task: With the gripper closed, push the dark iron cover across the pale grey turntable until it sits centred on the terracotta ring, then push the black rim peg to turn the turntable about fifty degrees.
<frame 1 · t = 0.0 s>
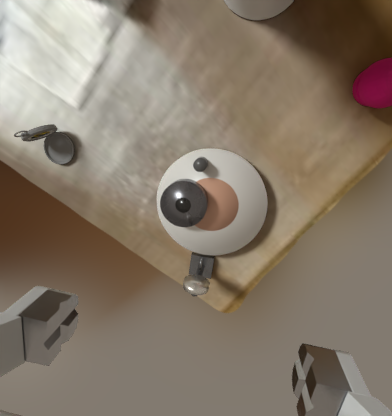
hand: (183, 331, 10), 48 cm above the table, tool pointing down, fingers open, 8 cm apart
pepper mill: (371, 87, 48), on the table
turntable: (210, 205, 56), point 3 cm above the table, hinge at 0.0°, touching cover
dial gauge stand: (201, 264, 63), on the table
cover: (185, 200, 56), point 3 cm above the table, touching turntable
pocket watch: (59, 142, 60), on the table
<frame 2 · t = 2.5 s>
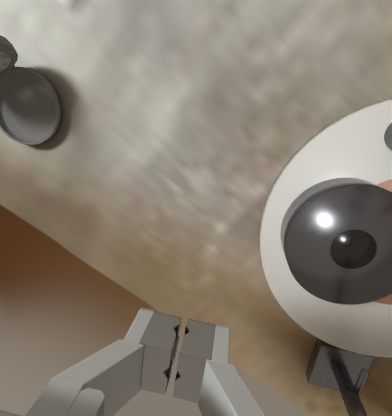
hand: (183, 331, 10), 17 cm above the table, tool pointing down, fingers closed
dial gauge stand: (336, 360, 29), on the table
cover: (338, 233, 22), point 3 cm above the table, touching turntable
pocket watch: (27, 94, 26), on the table
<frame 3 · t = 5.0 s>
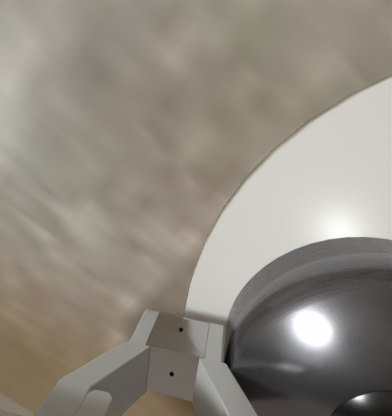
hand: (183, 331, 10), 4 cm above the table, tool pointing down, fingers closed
cover: (345, 348, 10), point 3 cm above the table, touching gripper, turntable
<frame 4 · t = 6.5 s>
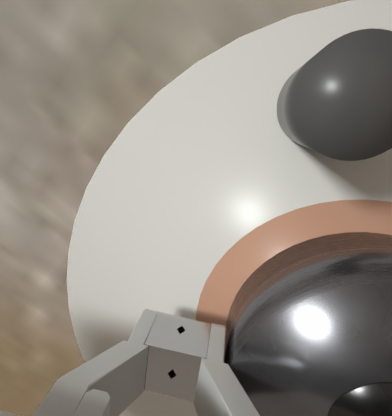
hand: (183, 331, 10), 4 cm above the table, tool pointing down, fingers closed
turntable: (340, 340, 11), point 3 cm above the table, hinge at -0.1°, touching cover
cover: (345, 342, 11), point 3 cm above the table, touching gripper, turntable
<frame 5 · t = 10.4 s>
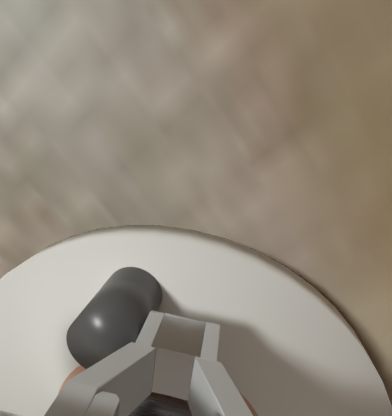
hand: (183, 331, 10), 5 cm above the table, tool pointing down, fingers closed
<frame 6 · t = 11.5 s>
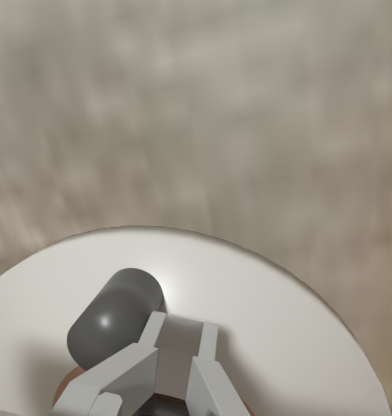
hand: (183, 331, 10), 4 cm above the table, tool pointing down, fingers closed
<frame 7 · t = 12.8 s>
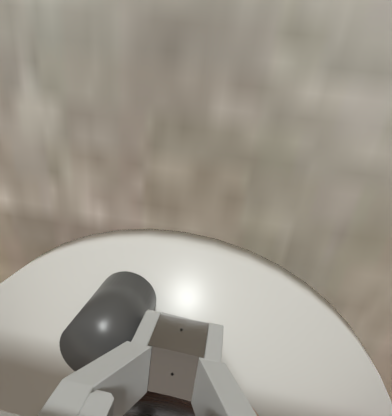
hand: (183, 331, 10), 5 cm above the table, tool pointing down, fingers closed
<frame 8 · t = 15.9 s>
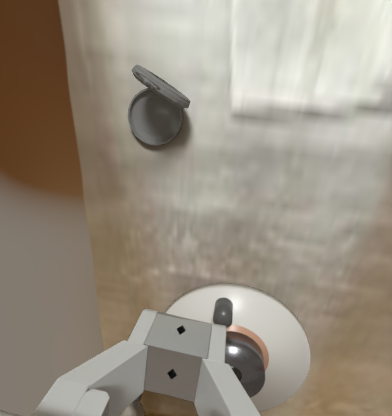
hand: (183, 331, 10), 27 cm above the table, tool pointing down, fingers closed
turntable: (229, 356, 40), point 3 cm above the table, hinge at 49.6°, touching cover
dial gauge stand: (148, 365, 47), on the table
cover: (231, 356, 40), point 3 cm above the table, touching turntable
pocket watch: (162, 109, 34), on the table
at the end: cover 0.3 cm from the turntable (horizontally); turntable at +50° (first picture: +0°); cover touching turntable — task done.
